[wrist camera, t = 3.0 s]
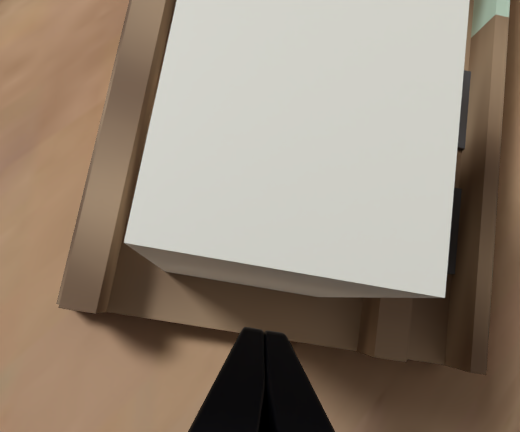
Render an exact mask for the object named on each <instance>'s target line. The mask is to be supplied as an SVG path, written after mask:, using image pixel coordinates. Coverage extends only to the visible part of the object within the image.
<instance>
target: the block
mask: <svg viewBox="0 0 520 432" xmlns="http://www.w3.org/2000/svg"><path fill="white" fill-rule="evenodd" d="M469 2H470V0H177V1H176V6H175V10H174V15H173V20H172V24H171V29H170V33H169V38H168V42H167V47H166V52H165V56H164V61H163V65H162V70H161V74H160V79H159V84H158V88H157V93H156V97H155V102H154V106H153V111H152V116H151V120H150V125H149V129H148V134H147V138H146V143H145V148H144V152H143V157H142V161H141V166H140V171H139V175H138V180H137V184H136V189H135V193H134V198H133V203H132V207H131V212H130V216H129V221H128V225H127V230H126V235H125V239H124V243H125V244H126V245H128V246H129V247H131V248H132V249H133V250H135V251H136V252H138V253H139V254H141V255H142V256H143V257H145V258H146V259H148V260H149V261H151V262H152V263H153V264H155V265H156V266H158V267H159V268H161V269H162V270H163V271H165V272H171V273H177V274H183V275H189V276H195V277H201V278H207V279H212V280H218V281H224V282H230V283H236V284H242V285H248V286H254V287H260V288H266V289H272V290H278V291H284V292H290V293H296V294H302V295H308V296H314V297H364V298H445V292H446V280H447V268H448V256H449V244H450V232H451V219H452V207H453V195H454V183H455V171H456V159H457V147H458V135H459V123H460V111H461V99H462V86H463V74H464V62H465V50H466V38H467V26H468V14H469Z"/></svg>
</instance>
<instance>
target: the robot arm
mask: <svg viewBox="0 0 520 432" xmlns="http://www.w3.org/2000/svg"><path fill="white" fill-rule="evenodd" d="M188 432H335V431H334V429H333V427H332V425H331V423H330V421H329V419H328V417H327V415H326V413H325V411H324V409H323V407H322V405H321V403H320V401H319V399H318V397H317V395H316V393H315V391H314V389H313V387H312V385H311V383H310V381H309V379H308V377H307V375H306V373H305V372H304V370H303V368H302V366H301V364H300V362H299V360H298V358H297V356H296V354H295V352H294V350H293V348H292V346H291V344H290V342H289V340H288V338H287V336H286V335H285V334H284V333H281V332H275V331H269V330H267V331H265V332H263V330H261V329H257V328H250V327H244V328H243V329H242V331H241V332H240V334H239V336H238V338H237V340H236V342H235V344H234V346H233V348H232V349H231V351H230V353H229V355H228V357H227V359H226V361H225V363H224V365H223V367H222V368H221V370H220V372H219V374H218V376H217V378H216V380H215V382H214V384H213V385H212V387H211V389H210V391H209V393H208V395H207V397H206V399H205V401H204V403H203V404H202V406H201V408H200V410H199V412H198V414H197V416H196V418H195V420H194V422H193V423H192V425H191V427H190V429H189V431H188Z"/></svg>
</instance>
